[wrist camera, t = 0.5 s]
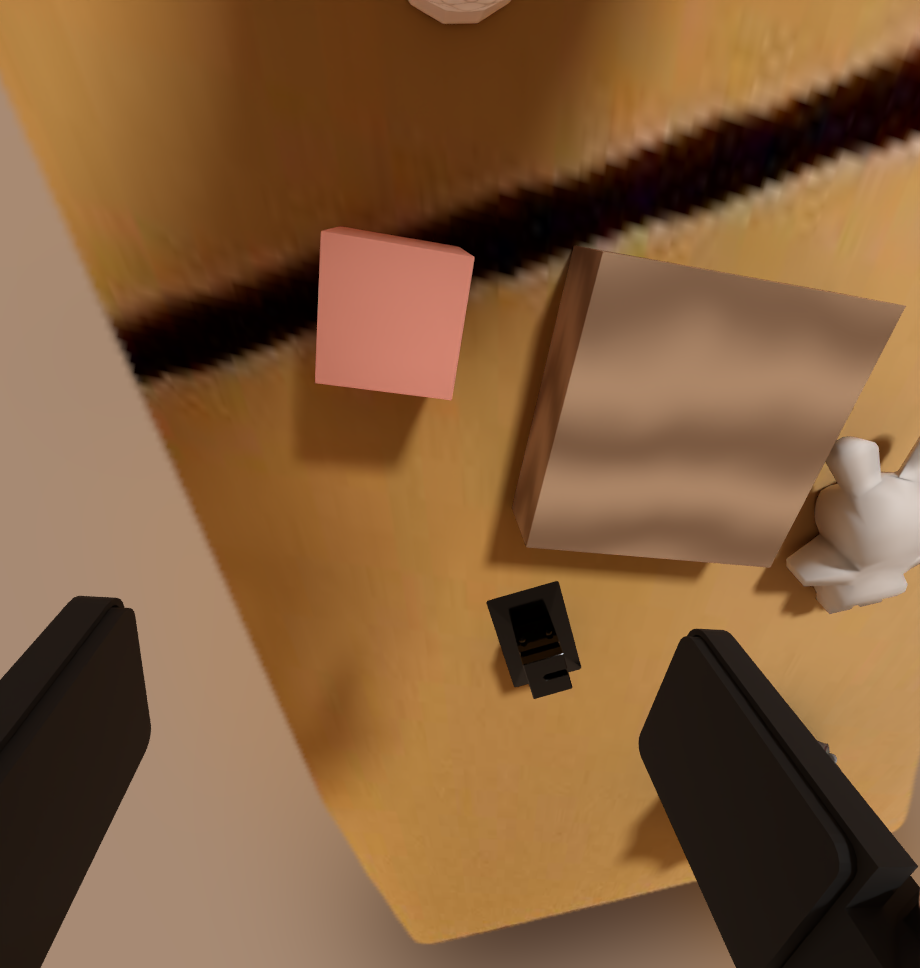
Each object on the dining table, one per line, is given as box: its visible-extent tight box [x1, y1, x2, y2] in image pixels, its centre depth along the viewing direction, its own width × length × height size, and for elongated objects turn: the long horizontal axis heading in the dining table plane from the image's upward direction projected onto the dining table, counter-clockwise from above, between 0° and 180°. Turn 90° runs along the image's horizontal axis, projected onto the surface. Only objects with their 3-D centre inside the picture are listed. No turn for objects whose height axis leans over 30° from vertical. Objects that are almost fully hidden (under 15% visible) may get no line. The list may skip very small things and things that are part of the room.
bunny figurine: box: [786, 436, 920, 614], centre depth 35 cm, size 10×5×15 cm
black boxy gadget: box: [487, 581, 581, 699], centre depth 39 cm, size 12×7×5 cm, turn 16°
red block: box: [315, 226, 475, 400], centre depth 25 cm, size 6×6×7 cm
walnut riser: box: [512, 246, 906, 568], centre depth 31 cm, size 16×16×5 cm
